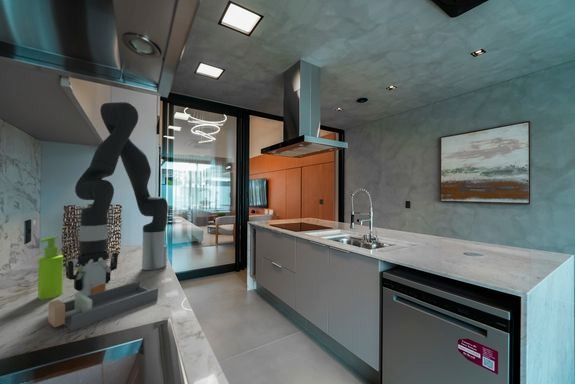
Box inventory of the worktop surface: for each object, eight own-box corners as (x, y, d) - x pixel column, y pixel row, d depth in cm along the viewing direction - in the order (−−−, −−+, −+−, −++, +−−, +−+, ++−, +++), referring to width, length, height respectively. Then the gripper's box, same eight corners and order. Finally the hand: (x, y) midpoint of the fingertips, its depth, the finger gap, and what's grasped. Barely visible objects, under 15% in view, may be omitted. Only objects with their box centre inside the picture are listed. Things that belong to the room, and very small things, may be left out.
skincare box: (88, 300, 77) (89, 264, 77) (78, 299, 78) (79, 263, 78) (106, 293, 83) (107, 259, 83) (96, 291, 84) (97, 258, 84)
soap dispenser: (30, 301, 76) (31, 239, 76) (47, 292, 83) (48, 235, 83) (51, 300, 77) (52, 238, 77) (66, 291, 84) (67, 235, 84)
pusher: (78, 308, 70) (79, 291, 70) (91, 318, 65) (92, 299, 65) (45, 319, 64) (46, 300, 64) (57, 330, 59) (57, 310, 59)
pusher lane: (139, 290, 85) (139, 280, 85) (157, 299, 79) (157, 288, 79) (56, 317, 67) (56, 304, 67) (72, 330, 60) (72, 316, 60)
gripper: (113, 234, 88) (112, 278, 88) (61, 240, 76) (60, 291, 76) (122, 236, 84) (121, 282, 84) (70, 243, 72) (69, 297, 72)
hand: (92, 286), depth 80 cm, fingers closed on skincare box, 7 cm apart
